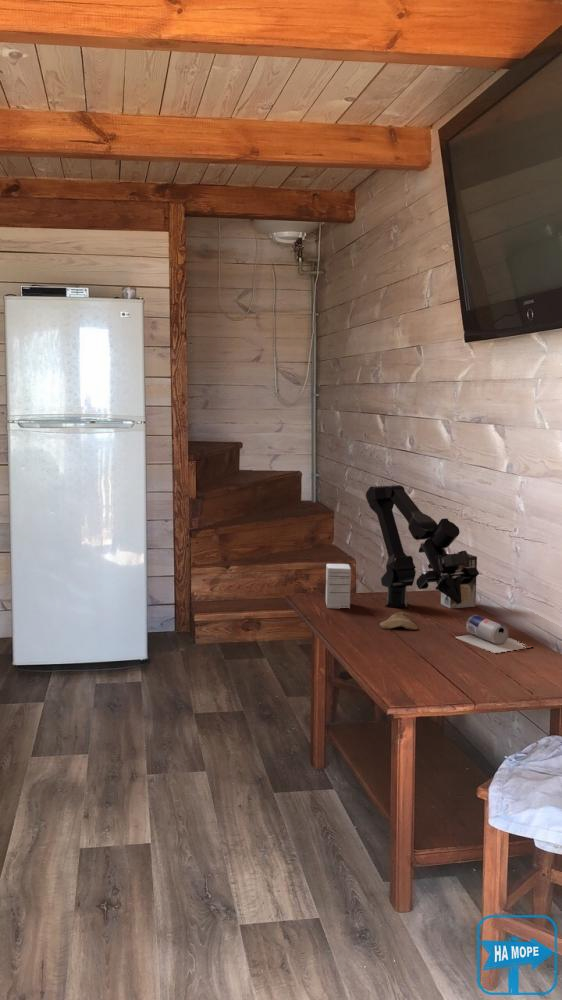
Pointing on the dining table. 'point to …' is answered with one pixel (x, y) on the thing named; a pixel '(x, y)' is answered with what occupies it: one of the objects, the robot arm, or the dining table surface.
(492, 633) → the energy drink
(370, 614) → the dining table surface
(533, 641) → the dining table surface
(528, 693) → the dining table surface
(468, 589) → the coffee box
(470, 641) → the white mat
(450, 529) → the robot arm
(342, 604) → the supplement box
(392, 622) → the pottery shard
